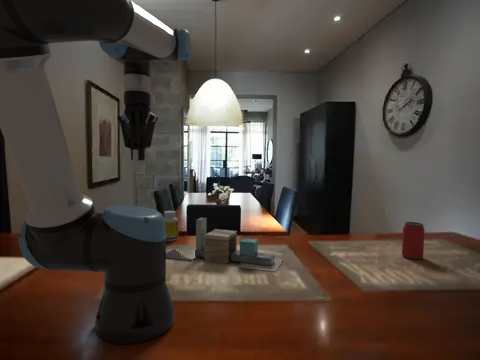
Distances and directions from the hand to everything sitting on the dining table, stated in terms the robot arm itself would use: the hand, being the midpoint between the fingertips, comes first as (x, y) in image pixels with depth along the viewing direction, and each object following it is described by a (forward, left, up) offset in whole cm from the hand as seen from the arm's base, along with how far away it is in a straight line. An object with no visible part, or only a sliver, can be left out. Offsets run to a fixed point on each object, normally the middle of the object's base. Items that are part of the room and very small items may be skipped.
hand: (137, 171), depth 94 cm
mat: (+16, -35, -29) cm, 48 cm away
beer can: (+41, -83, -30) cm, 97 cm away
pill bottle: (+32, +8, -30) cm, 44 cm away
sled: (+16, -26, -29) cm, 42 cm away
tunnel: (+16, -21, -29) cm, 39 cm away
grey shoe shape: (+16, -7, -29) cm, 34 cm away
